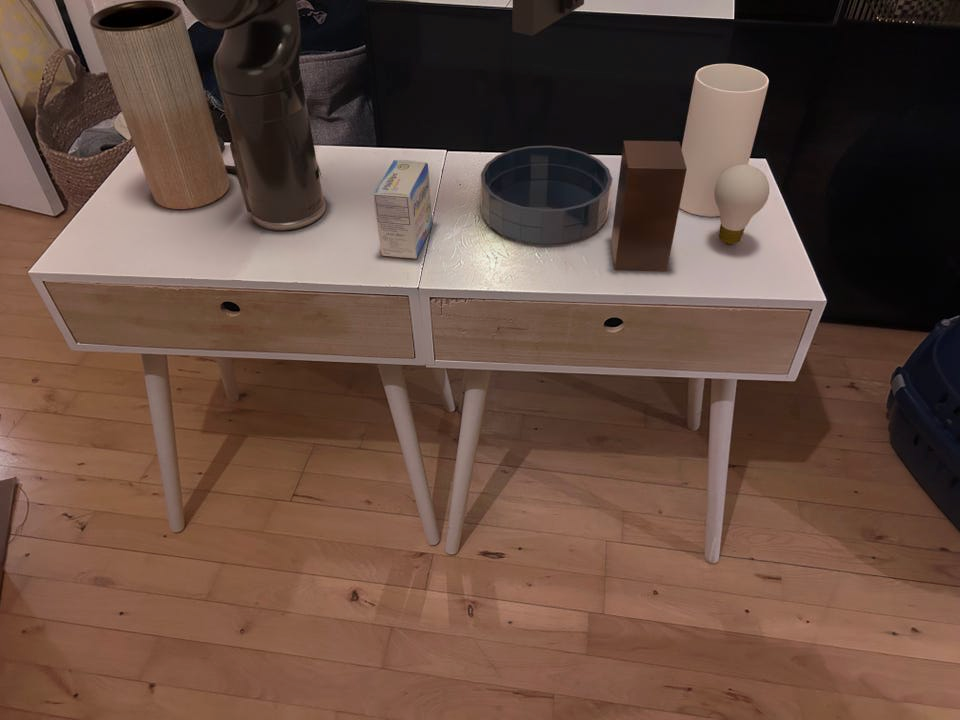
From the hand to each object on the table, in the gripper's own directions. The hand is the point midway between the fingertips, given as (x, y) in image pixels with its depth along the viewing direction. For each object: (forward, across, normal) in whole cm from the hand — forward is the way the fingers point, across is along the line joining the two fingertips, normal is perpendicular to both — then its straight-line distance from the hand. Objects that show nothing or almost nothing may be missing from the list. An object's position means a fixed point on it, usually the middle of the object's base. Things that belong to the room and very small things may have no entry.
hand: (553, 8), depth 78 cm
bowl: (+25, 0, 0) cm, 25 cm away
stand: (+25, -14, +2) cm, 28 cm away
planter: (+25, +43, +21) cm, 53 cm away
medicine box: (+25, +11, +14) cm, 31 cm away
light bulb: (+25, -22, -6) cm, 34 cm away
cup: (+25, -16, -14) cm, 33 cm away
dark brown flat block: (+1, 0, +1) cm, 1 cm away
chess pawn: (+24, -3, +3) cm, 25 cm away
